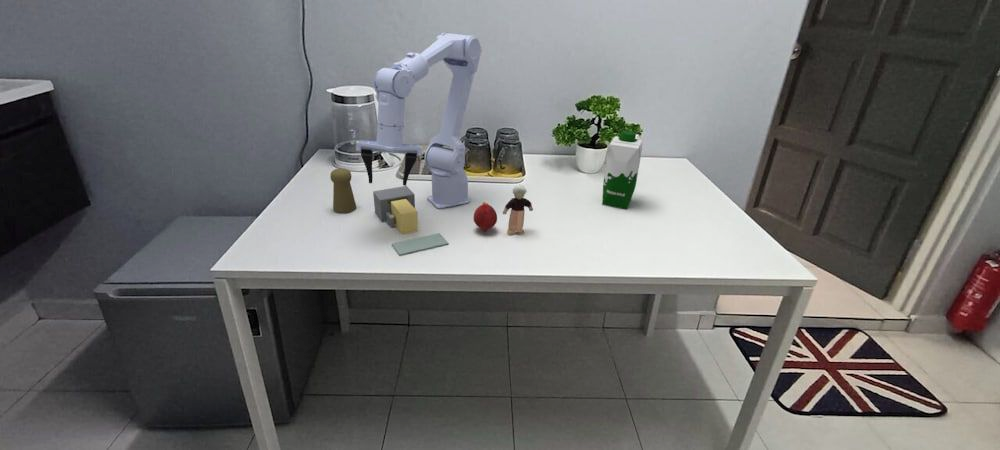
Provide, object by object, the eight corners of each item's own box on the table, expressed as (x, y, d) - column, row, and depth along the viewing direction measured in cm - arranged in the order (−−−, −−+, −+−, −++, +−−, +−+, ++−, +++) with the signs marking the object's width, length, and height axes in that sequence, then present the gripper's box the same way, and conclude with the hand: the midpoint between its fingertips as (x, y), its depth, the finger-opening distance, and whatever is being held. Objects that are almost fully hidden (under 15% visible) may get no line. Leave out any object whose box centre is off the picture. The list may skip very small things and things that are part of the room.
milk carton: (634, 199, 142) (646, 132, 133) (629, 211, 135) (641, 141, 126) (604, 193, 145) (614, 128, 136) (598, 205, 138) (607, 136, 129)
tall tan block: (407, 218, 127) (405, 198, 124) (418, 231, 121) (417, 211, 118) (392, 221, 125) (390, 201, 123) (402, 234, 119) (401, 214, 116)
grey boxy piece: (407, 206, 133) (406, 185, 130) (421, 221, 125) (420, 199, 123) (375, 212, 129) (373, 191, 126) (386, 228, 121) (384, 206, 118)
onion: (499, 227, 124) (500, 198, 120) (492, 237, 119) (492, 208, 115) (478, 223, 125) (478, 195, 122) (469, 233, 120) (470, 204, 117)
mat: (439, 234, 119) (439, 232, 119) (448, 244, 115) (448, 243, 115) (391, 244, 114) (391, 243, 114) (399, 255, 110) (399, 254, 110)
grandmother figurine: (507, 238, 119) (509, 190, 113) (500, 231, 122) (502, 184, 116) (534, 232, 122) (538, 185, 116) (526, 225, 125) (529, 179, 119)
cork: (350, 214, 127) (345, 175, 122) (328, 212, 128) (323, 172, 123) (360, 205, 132) (356, 167, 127) (340, 202, 133) (335, 164, 128)
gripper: (355, 124, 104) (354, 185, 108) (424, 130, 107) (420, 190, 112) (357, 119, 110) (356, 177, 115) (422, 125, 114) (418, 181, 118)
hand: (387, 183), depth 114 cm, fingers open, 7 cm apart
